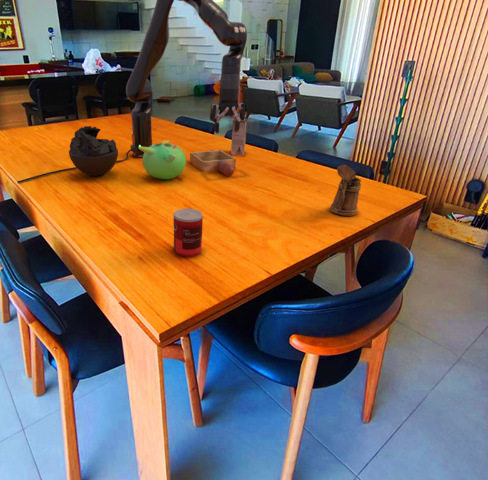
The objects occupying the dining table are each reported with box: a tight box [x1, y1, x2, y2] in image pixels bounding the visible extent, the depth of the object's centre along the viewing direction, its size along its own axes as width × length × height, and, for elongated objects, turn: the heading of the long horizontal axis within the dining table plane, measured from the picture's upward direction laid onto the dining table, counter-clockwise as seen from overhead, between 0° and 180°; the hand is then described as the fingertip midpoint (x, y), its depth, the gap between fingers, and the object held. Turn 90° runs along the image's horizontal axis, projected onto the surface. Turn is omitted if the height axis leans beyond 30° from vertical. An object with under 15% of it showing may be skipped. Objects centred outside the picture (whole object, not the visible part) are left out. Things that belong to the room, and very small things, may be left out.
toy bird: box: [138, 139, 187, 180], centre depth 156 cm, size 18×17×15 cm
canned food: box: [173, 208, 204, 258], centre depth 105 cm, size 8×8×11 cm
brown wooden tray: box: [189, 149, 237, 173], centre depth 174 cm, size 16×17×5 cm
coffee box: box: [230, 117, 248, 157], centre depth 189 cm, size 9×6×16 cm
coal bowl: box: [68, 125, 119, 177], centre depth 158 cm, size 20×20×19 cm
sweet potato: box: [217, 161, 235, 177], centre depth 163 cm, size 11×5×5 cm, turn 20°
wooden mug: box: [329, 163, 362, 217], centre depth 126 cm, size 9×14×18 cm, turn 139°
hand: (226, 132), depth 155 cm, fingers open, 8 cm apart
